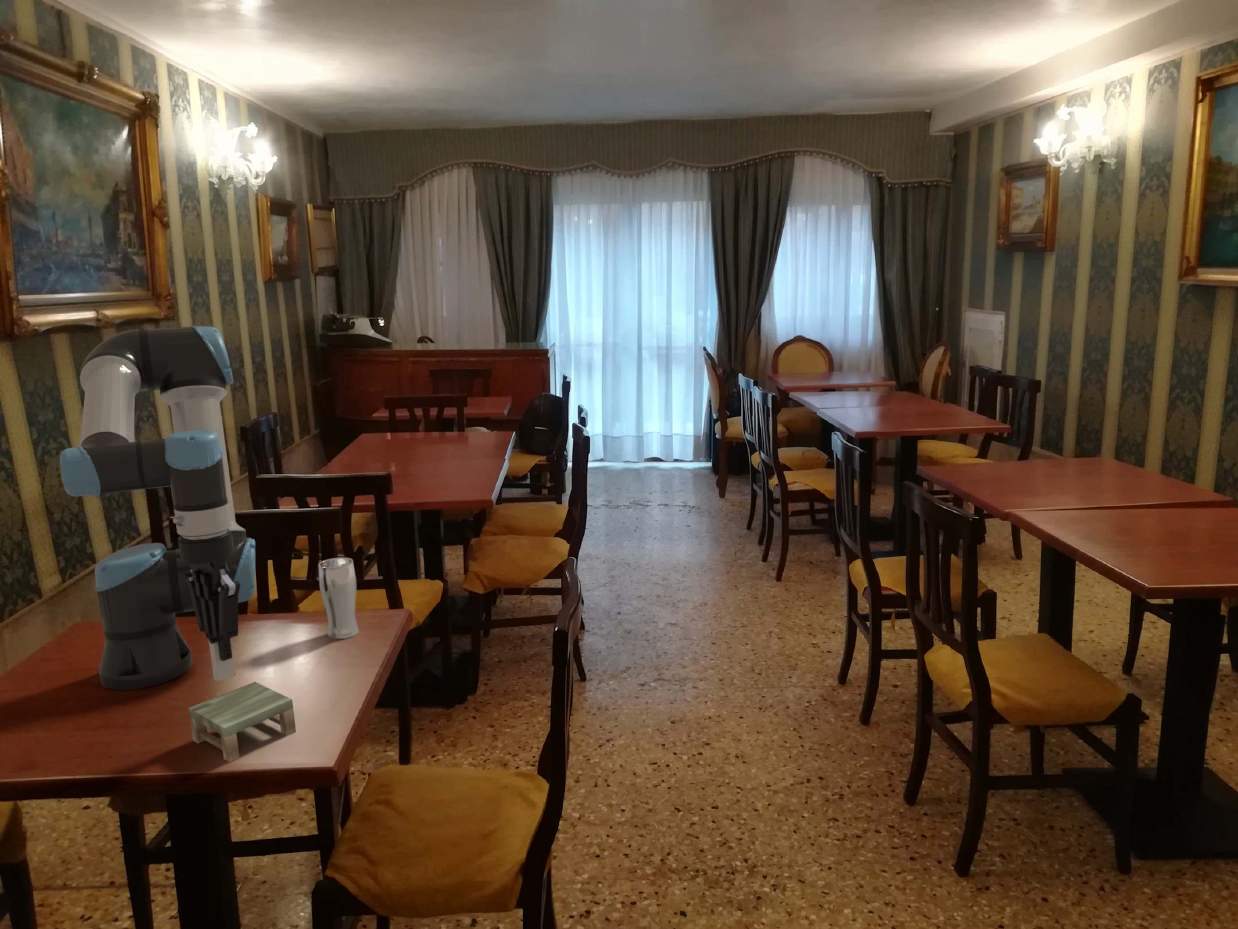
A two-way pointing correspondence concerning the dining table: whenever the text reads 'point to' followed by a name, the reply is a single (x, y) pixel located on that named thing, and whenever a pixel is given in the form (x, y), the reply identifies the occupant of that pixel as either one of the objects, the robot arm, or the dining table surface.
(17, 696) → the dining table surface
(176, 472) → the robot arm
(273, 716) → the footstool
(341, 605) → the beer glass
